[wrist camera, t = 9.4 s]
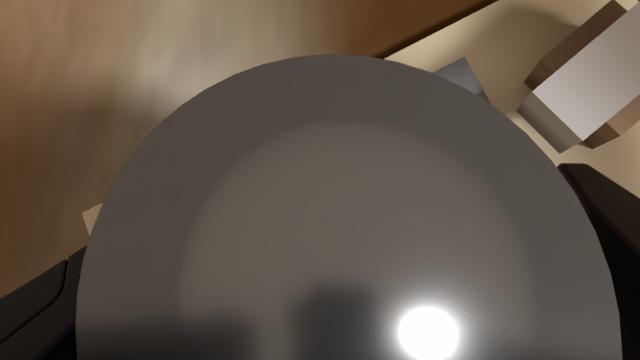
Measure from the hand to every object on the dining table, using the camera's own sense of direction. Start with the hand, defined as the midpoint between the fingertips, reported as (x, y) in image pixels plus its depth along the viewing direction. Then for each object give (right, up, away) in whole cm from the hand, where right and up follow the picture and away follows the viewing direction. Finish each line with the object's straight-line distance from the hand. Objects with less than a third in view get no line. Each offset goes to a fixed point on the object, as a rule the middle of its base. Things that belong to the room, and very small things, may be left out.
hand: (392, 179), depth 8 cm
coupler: (+1, -2, +8) cm, 8 cm away
